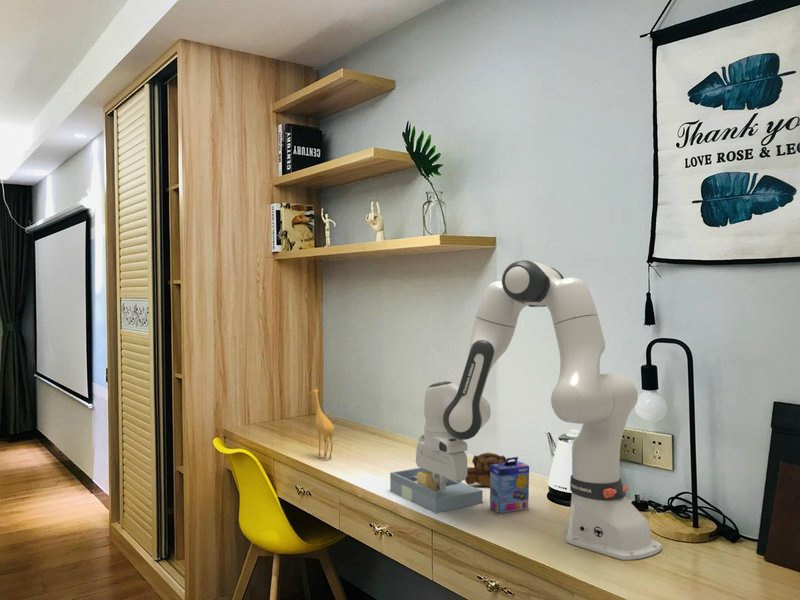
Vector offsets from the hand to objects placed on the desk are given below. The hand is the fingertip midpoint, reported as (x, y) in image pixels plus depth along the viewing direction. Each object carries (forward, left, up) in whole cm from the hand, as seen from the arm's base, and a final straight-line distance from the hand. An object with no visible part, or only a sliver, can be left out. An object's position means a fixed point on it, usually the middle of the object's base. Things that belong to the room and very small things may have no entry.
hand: (440, 489), depth 184 cm
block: (+5, +1, -1) cm, 5 cm away
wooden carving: (+8, -24, -5) cm, 26 cm away
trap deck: (+8, -4, -5) cm, 10 cm away
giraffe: (+69, +4, -5) cm, 69 cm away
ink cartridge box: (-12, -15, -5) cm, 20 cm away
